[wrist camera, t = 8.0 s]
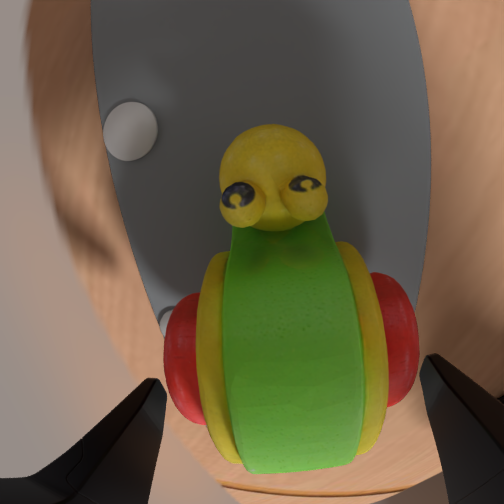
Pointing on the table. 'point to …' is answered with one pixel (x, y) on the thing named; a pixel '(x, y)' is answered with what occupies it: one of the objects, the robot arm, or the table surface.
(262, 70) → the marked mat
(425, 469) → the table surface
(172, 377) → the toy measuring tape
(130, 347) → the table surface
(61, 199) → the table surface
